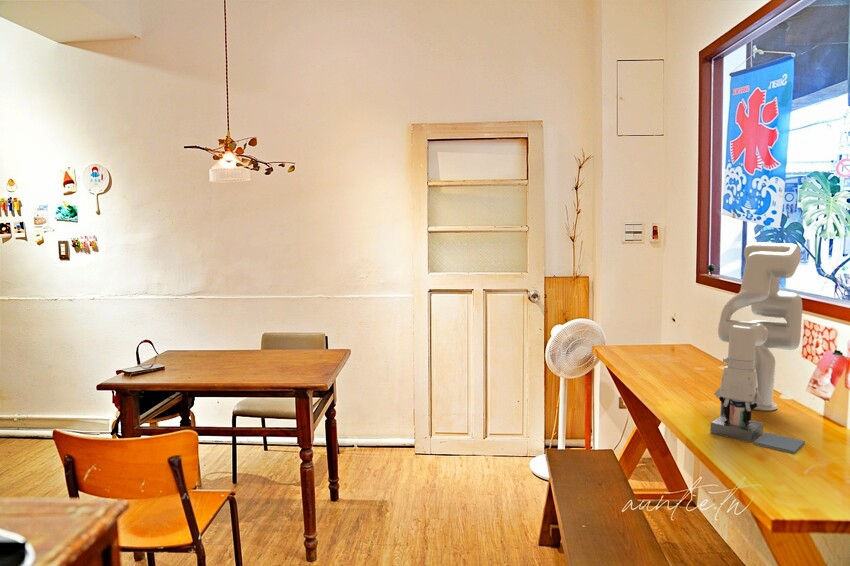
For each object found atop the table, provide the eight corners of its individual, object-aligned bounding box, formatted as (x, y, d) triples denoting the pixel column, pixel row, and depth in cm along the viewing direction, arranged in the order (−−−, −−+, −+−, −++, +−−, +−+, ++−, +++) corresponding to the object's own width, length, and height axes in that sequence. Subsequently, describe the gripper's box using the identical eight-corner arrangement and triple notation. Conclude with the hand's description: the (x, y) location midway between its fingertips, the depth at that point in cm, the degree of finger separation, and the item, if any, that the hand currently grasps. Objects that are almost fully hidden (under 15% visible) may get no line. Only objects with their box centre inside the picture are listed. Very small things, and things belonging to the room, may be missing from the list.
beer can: (730, 429, 202) (732, 393, 201) (746, 432, 199) (748, 396, 198) (726, 433, 199) (728, 396, 197) (742, 436, 196) (745, 399, 194)
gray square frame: (723, 424, 207) (723, 414, 207) (762, 433, 199) (763, 422, 199) (710, 433, 199) (710, 422, 198) (751, 442, 191) (751, 431, 190)
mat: (765, 434, 198) (765, 432, 198) (804, 443, 190) (804, 440, 190) (753, 444, 189) (753, 441, 189) (794, 453, 182) (794, 451, 182)
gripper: (708, 361, 200) (705, 417, 202) (767, 370, 188) (763, 429, 190) (716, 358, 205) (713, 411, 207) (773, 366, 194) (770, 423, 195)
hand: (737, 419), depth 199 cm, fingers closed on beer can, 4 cm apart
